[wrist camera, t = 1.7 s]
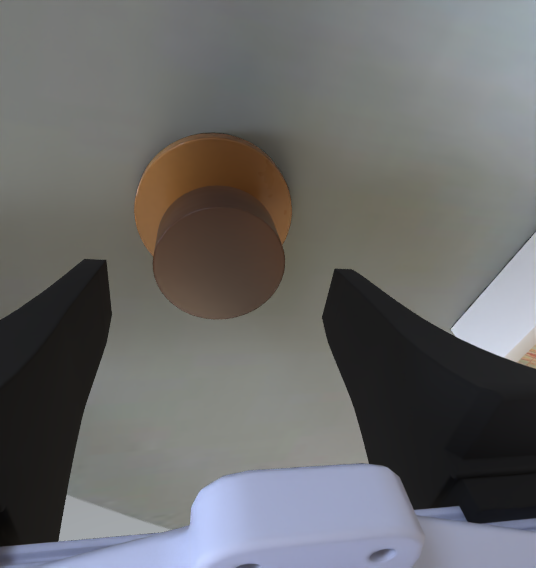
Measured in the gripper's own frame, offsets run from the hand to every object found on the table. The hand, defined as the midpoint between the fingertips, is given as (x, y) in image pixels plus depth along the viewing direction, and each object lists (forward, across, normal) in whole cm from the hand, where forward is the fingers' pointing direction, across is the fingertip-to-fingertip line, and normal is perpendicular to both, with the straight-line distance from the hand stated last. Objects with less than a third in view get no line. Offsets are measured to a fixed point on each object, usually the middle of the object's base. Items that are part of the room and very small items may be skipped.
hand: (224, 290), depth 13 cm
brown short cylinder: (+3, 0, 0) cm, 3 cm away
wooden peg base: (+6, 0, 0) cm, 6 cm away
